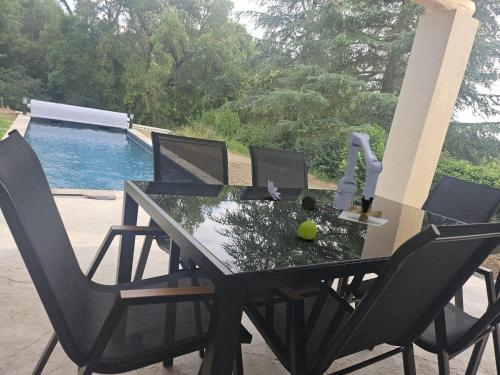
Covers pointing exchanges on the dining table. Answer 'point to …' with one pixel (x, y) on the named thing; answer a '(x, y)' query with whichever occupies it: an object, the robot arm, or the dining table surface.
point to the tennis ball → (307, 230)
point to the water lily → (272, 191)
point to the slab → (355, 218)
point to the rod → (369, 213)
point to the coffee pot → (312, 204)
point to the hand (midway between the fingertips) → (364, 211)
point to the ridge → (363, 218)
